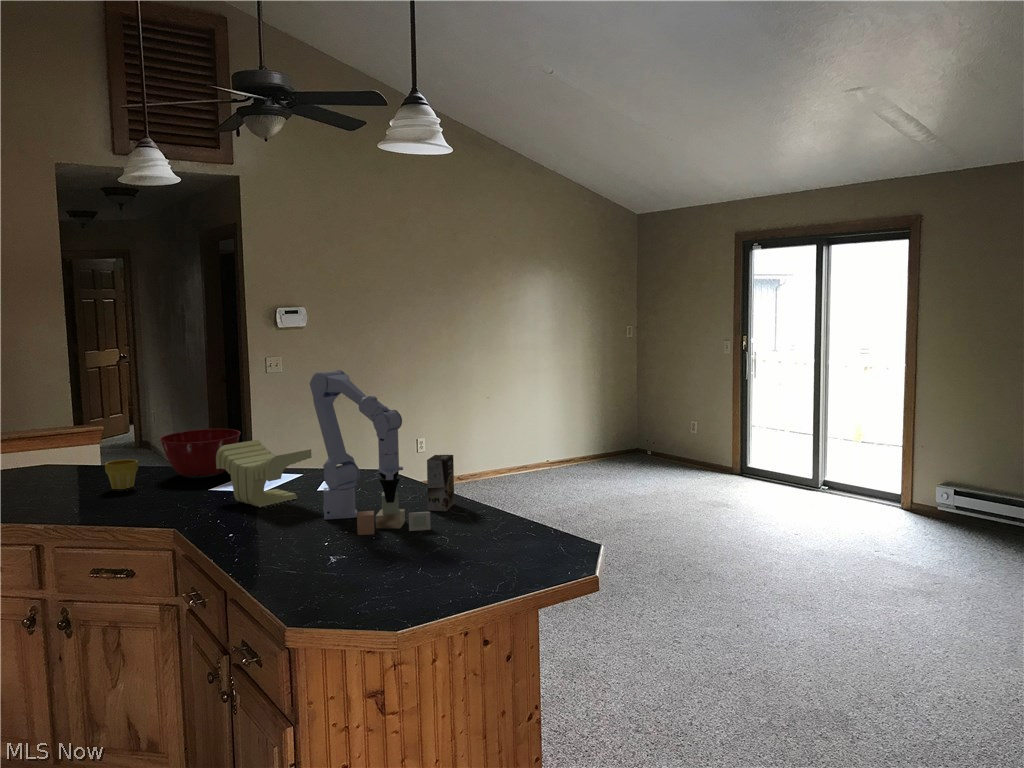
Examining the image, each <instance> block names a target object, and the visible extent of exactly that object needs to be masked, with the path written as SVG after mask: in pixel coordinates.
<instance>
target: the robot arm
mask: <svg viewBox="0 0 1024 768" xmlns="http://www.w3.org/2000/svg"><path fill="white" fill-rule="evenodd" d="M350 379H351V378H350V375H349V374H347V373H345V371H344V370H341V369H337V370H333V371H332V370H331V371H322V372H320V371H318V372H315V373H314V374H313V375H312V377H311V379H310V381H309V387H310V391H311V395H312V399H313V405H314V408H315V409H314V410H315V414H316V417H317V420H318V424H319V428H320V431H321V435H322V439H323V442H324V446H325V450H326V455H327V457H328V458H327V460H326V461H325V462H324V463H323V465H322V468H323V471H324V472H323V473H324V474H323V479H324V480H323V481H324V482H325V484H326V486H327V487H324V488H323V507H322V508H323V509H322V511H323V514H324V515H323V516H324V517H323V519H324V520H334V519H335V520H340V519H355V518H356V519H357V512H358V509H356V493H355V492H356V491H355V490H356V489H355V486H356V485H357V482H358V481H359V479H360V477H361V476H360V475H361V473H360V468H359V466H358V465H357V464H356V462H355V459H354V457H353V455H350V454H349V453H347V451H346V446H345V443H344V439H343V436H342V433H341V429H340V425H339V422H338V418H337V415H336V411H335V410H336V409H335V406H334V402H335V401H336V399H337V398H338V397H339V396H340V395H341V394H342V395H344V396H345V398H346V397H347V398H348V399H349V400H351V401H352V402H353V403H355V404H357V405H358V410H359V412H360V413H361V414H362V415H364V416H365V417H366V418H367V419H369V420H370V421H371V422H372V425H373V427H374V430H375V432H376V437H377V439H378V440H377V441H378V442H377V443H378V470H377V471H378V472H379V476H380V477H381V478H379V479H378V480H379V483H380V485H381V487H382V489H383V492H384V494H385V499H386V502H387V503H393V502H394V499H395V493H396V491H397V487H398V484H399V482H400V478H398V475H399V473H400V471H404V466H400V456H399V454H400V453H399V449H400V448H399V447H400V446H399V429H400V428H401V427H402V424H403V418H402V415H401V414H400V413H399V411H398V410H397V409H390V408H389V407H388V406H386V405H384V404H383V403H381V401H379V400H378V398H377V396H375V395H366V394H365V393H364V392H363V391H362V390H360V389H359V387H357V385H356V384H354V383H353V382H352V381H351V380H350Z"/></svg>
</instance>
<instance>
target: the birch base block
mask: <svg viewBox="0 0 1024 768" xmlns="http://www.w3.org/2000/svg"><path fill="white" fill-rule="evenodd" d="M405 510H406V509H405V508H399V514H387V515H383V512H382V508H381V509H380V510H379V511H378V512H377V514H376V515H375V528H376V529H401V528H402V526H403V525H404V524H405V522H406V511H405Z"/></svg>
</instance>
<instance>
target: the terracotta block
mask: <svg viewBox="0 0 1024 768" xmlns="http://www.w3.org/2000/svg"><path fill="white" fill-rule="evenodd" d="M374 513H375V510H365V511H364V510H363V511H357V517H356V525H357V526H356V527H357V528H356V529H357V531H356V532H357V535H358V536H365V535H366V536H367V535H375V514H374Z"/></svg>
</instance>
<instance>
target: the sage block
mask: <svg viewBox="0 0 1024 768" xmlns="http://www.w3.org/2000/svg"><path fill="white" fill-rule="evenodd" d="M399 503H400V502H399V492H398V491H397V490H396V493H395V499H394V502H393V503H387V502H386V499H385V494H384V491H382V492H381V507H382V508H381V509H382V512H383V515H387V514H399V509H400V508H399V507H400V505H399Z"/></svg>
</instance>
